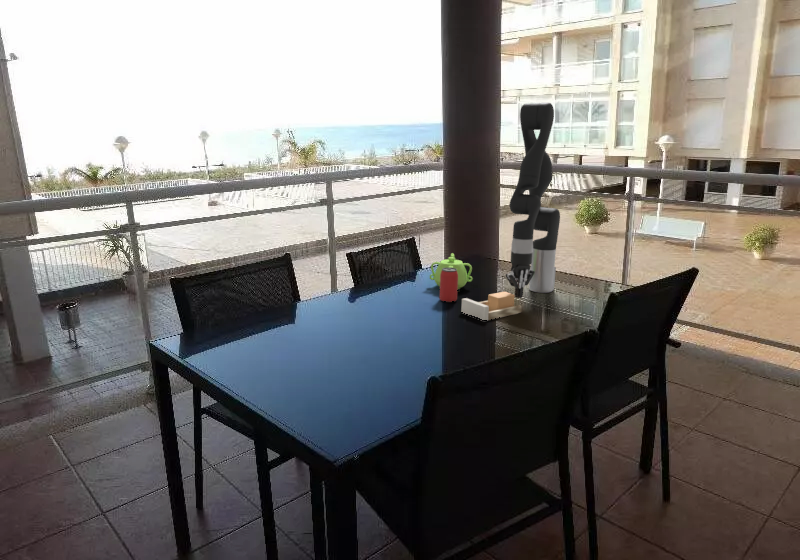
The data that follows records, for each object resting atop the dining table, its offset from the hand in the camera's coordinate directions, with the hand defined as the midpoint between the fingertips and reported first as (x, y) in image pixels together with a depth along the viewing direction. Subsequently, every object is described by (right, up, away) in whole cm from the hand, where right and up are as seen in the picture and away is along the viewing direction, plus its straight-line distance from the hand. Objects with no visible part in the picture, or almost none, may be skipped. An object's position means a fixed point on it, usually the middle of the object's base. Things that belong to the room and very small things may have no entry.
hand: (518, 297), depth 211 cm
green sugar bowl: (-22, +3, +26) cm, 34 cm away
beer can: (-25, -1, +8) cm, 26 cm away
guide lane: (-10, -5, -6) cm, 13 cm away
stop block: (-17, -6, -11) cm, 22 cm away
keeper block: (-7, -5, -4) cm, 9 cm away
